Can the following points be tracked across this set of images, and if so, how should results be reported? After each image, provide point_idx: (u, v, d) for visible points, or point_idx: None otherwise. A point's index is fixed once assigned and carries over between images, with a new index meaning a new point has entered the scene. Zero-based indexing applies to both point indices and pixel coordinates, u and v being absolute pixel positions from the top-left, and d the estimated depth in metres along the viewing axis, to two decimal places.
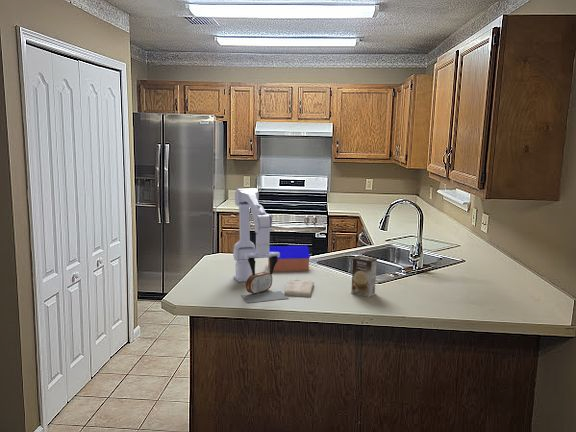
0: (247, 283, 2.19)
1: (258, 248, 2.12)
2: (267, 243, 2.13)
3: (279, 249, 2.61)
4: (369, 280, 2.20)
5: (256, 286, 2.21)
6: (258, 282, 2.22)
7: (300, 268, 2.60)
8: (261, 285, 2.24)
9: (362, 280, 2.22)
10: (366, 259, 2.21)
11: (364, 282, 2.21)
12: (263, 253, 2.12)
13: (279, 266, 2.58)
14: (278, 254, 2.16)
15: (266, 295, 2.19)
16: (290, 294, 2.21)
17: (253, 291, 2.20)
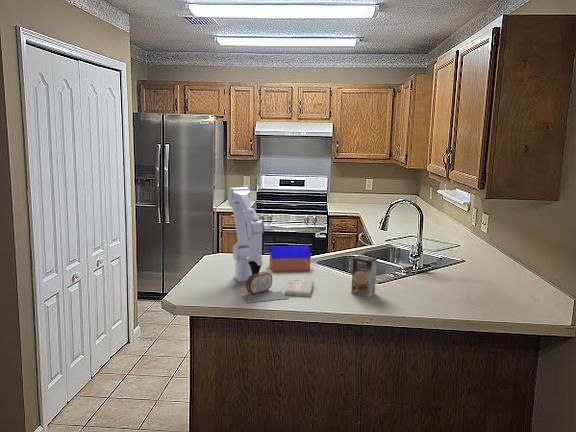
0: (247, 283, 2.19)
1: None
2: (260, 248, 2.26)
3: (280, 249, 2.61)
4: (369, 280, 2.20)
5: (256, 286, 2.21)
6: (258, 282, 2.22)
7: (301, 268, 2.61)
8: (261, 285, 2.24)
9: (362, 280, 2.22)
10: (366, 259, 2.21)
11: (364, 282, 2.21)
12: (249, 256, 2.28)
13: (280, 266, 2.59)
14: (257, 262, 2.22)
15: (266, 295, 2.19)
16: (290, 294, 2.21)
17: (253, 291, 2.20)
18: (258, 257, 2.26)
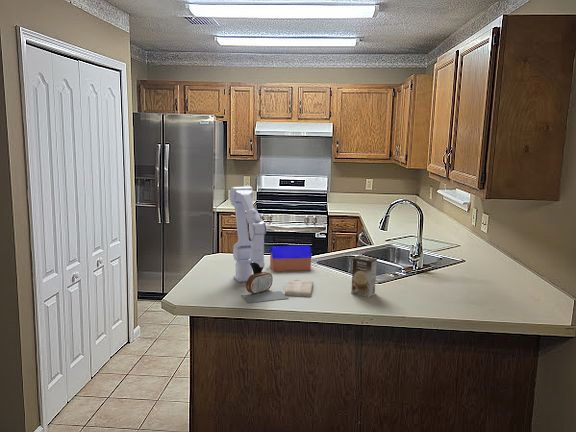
0: (247, 283, 2.19)
1: None
2: (262, 249, 2.24)
3: (281, 249, 2.62)
4: (369, 280, 2.20)
5: (256, 286, 2.21)
6: (258, 282, 2.22)
7: (302, 268, 2.61)
8: (261, 285, 2.24)
9: (362, 280, 2.22)
10: (366, 259, 2.21)
11: (364, 282, 2.21)
12: (251, 257, 2.25)
13: (281, 266, 2.59)
14: (259, 264, 2.20)
15: (266, 295, 2.19)
16: (290, 294, 2.21)
17: (253, 291, 2.20)
18: (260, 259, 2.24)
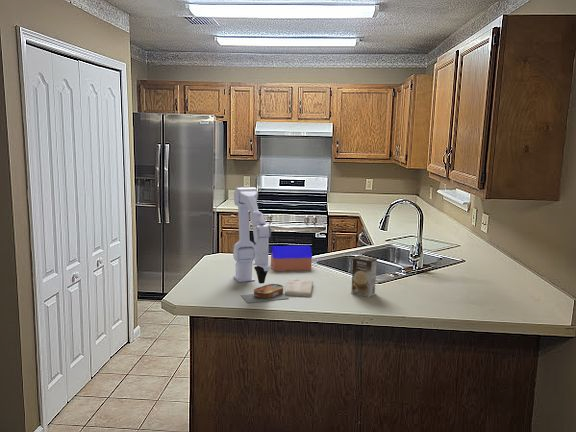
0: (259, 294, 2.15)
1: None
2: (266, 252, 2.18)
3: (281, 249, 2.62)
4: (369, 280, 2.20)
5: None
6: None
7: (303, 268, 2.61)
8: None
9: (362, 280, 2.22)
10: (366, 259, 2.21)
11: (364, 282, 2.21)
12: (255, 261, 2.19)
13: (282, 266, 2.59)
14: (264, 268, 2.14)
15: None
16: (290, 294, 2.21)
17: None
18: (265, 262, 2.18)
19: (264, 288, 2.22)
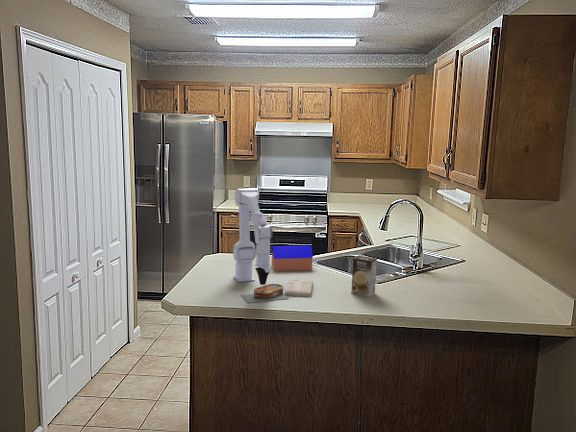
0: (259, 294, 2.15)
1: None
2: (267, 253, 2.16)
3: (282, 249, 2.62)
4: (369, 280, 2.20)
5: None
6: None
7: (303, 268, 2.61)
8: None
9: (362, 280, 2.22)
10: (366, 259, 2.21)
11: (364, 282, 2.21)
12: (256, 262, 2.18)
13: (282, 266, 2.59)
14: (265, 269, 2.12)
15: None
16: (290, 294, 2.21)
17: None
18: (266, 263, 2.16)
19: (264, 288, 2.22)
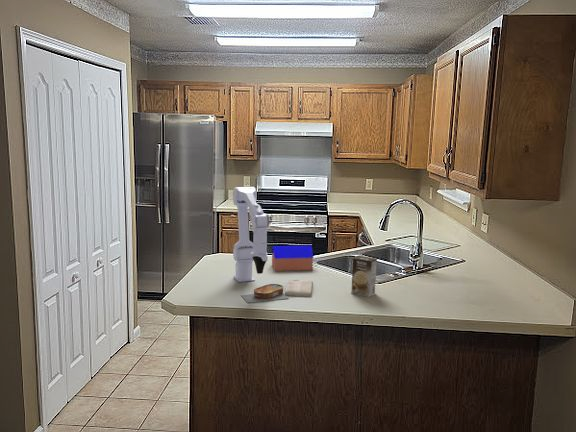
0: (259, 294, 2.15)
1: None
2: (264, 242, 2.17)
3: (282, 249, 2.62)
4: (369, 280, 2.20)
5: None
6: None
7: (304, 267, 2.61)
8: None
9: (362, 280, 2.22)
10: (366, 259, 2.21)
11: (364, 282, 2.21)
12: (253, 251, 2.18)
13: (283, 266, 2.59)
14: (262, 257, 2.13)
15: None
16: (291, 294, 2.21)
17: None
18: (263, 252, 2.17)
19: (264, 288, 2.22)
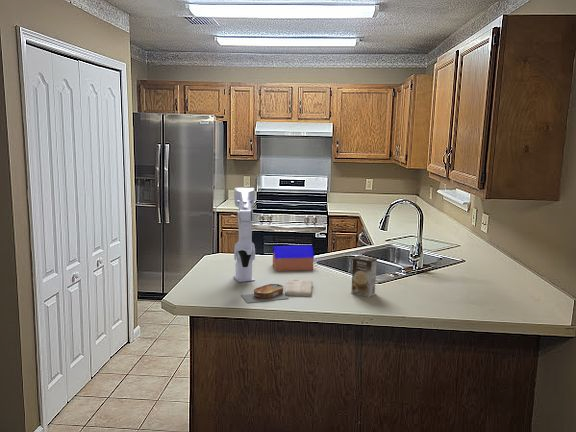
0: (259, 294, 2.15)
1: None
2: (248, 237, 2.22)
3: (283, 249, 2.62)
4: (369, 280, 2.20)
5: None
6: None
7: (304, 267, 2.62)
8: None
9: (362, 280, 2.22)
10: (366, 259, 2.21)
11: (364, 282, 2.21)
12: (238, 245, 2.24)
13: (284, 265, 2.60)
14: (247, 251, 2.19)
15: None
16: (291, 294, 2.21)
17: None
18: (248, 246, 2.23)
19: (264, 288, 2.22)
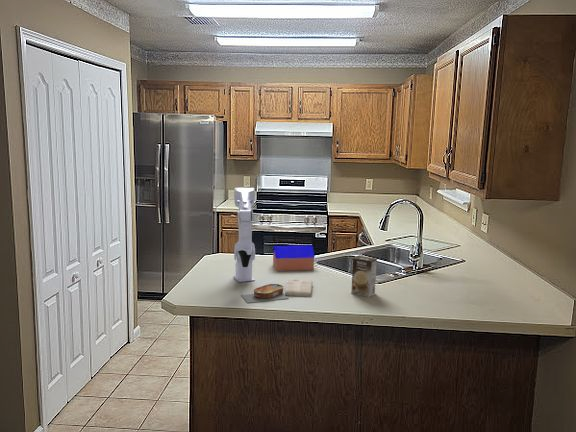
0: (259, 294, 2.15)
1: None
2: (248, 237, 2.22)
3: (284, 249, 2.62)
4: (369, 280, 2.20)
5: None
6: None
7: (305, 267, 2.62)
8: None
9: (362, 280, 2.22)
10: (366, 259, 2.21)
11: (364, 282, 2.21)
12: (238, 245, 2.24)
13: (284, 265, 2.60)
14: (247, 251, 2.19)
15: None
16: (291, 294, 2.21)
17: None
18: (248, 246, 2.23)
19: (264, 288, 2.22)
